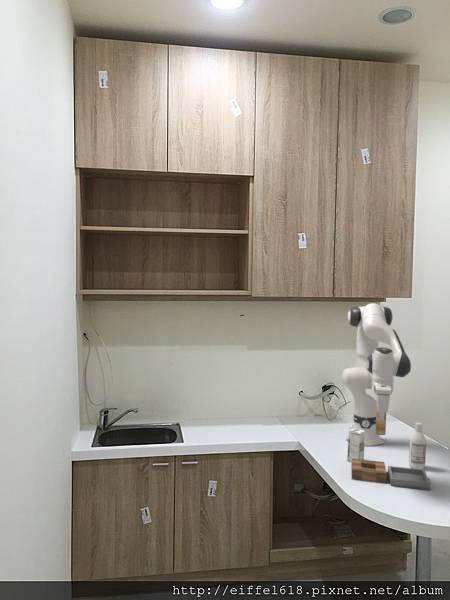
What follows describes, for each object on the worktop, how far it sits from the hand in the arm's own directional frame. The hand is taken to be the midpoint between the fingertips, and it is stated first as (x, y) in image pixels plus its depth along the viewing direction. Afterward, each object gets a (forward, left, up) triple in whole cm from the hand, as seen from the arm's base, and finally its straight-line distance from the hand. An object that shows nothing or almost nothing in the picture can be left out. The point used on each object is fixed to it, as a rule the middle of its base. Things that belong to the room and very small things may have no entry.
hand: (381, 418), depth 213 cm
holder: (-1, -4, -25) cm, 26 cm away
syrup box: (-17, -9, -26) cm, 32 cm away
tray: (+1, +12, -25) cm, 28 cm away
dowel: (0, 0, -7) cm, 7 cm away
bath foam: (-18, +18, -26) cm, 36 cm away
